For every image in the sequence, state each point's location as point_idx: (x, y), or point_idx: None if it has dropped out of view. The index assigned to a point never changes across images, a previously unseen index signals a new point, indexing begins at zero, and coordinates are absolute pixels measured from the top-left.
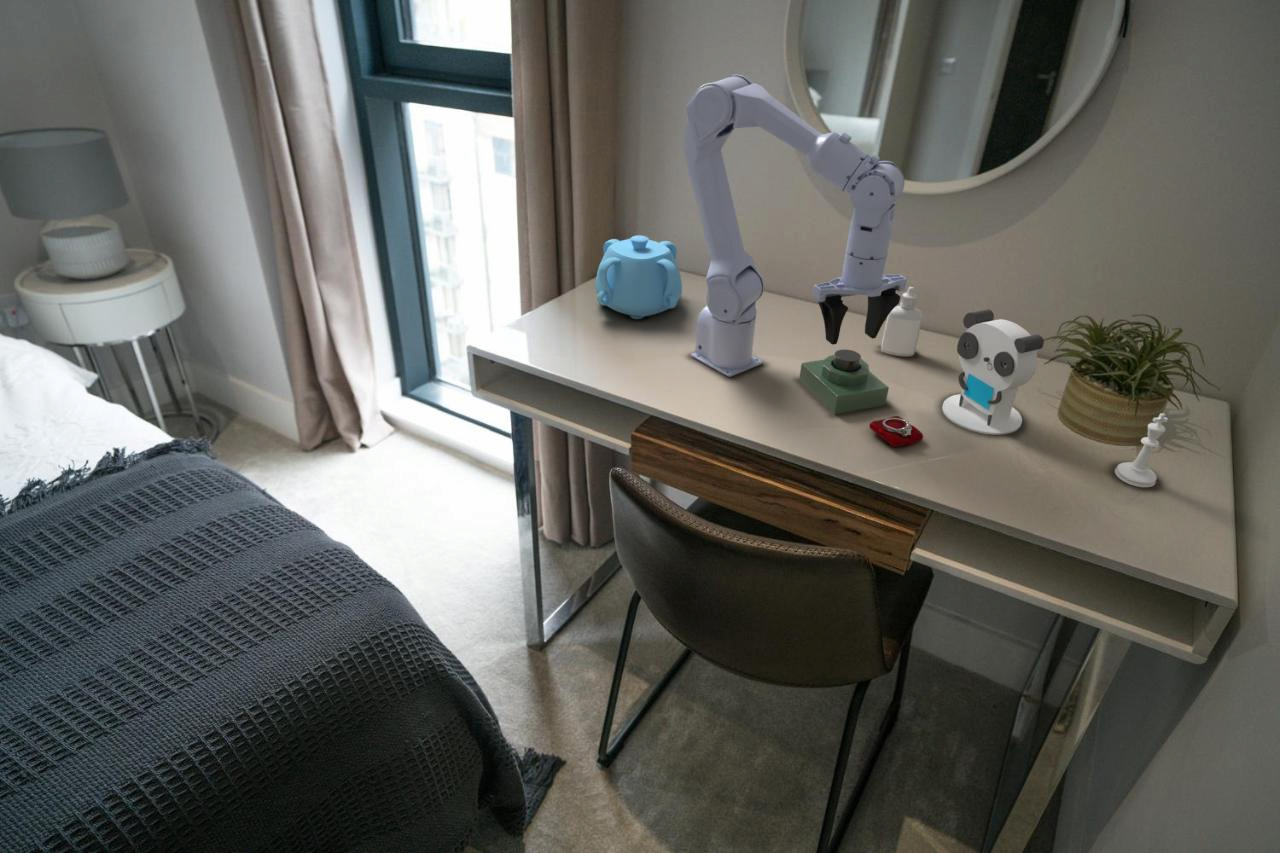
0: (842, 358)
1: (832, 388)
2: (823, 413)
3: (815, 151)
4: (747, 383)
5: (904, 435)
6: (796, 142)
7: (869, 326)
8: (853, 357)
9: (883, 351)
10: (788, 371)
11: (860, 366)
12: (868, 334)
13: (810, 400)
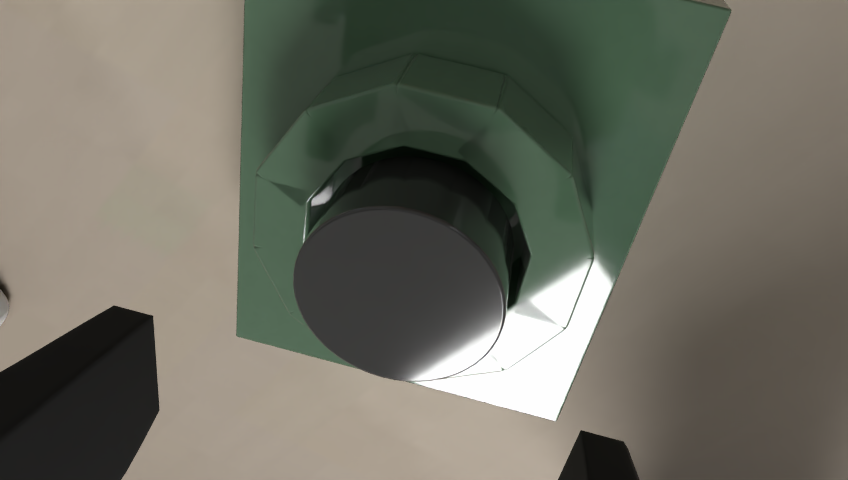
0: (475, 292)
1: (656, 121)
2: (748, 25)
3: None
4: (807, 449)
5: None
6: None
7: (99, 451)
8: (379, 256)
9: (4, 301)
10: None
11: (320, 188)
12: (150, 377)
13: (678, 180)
